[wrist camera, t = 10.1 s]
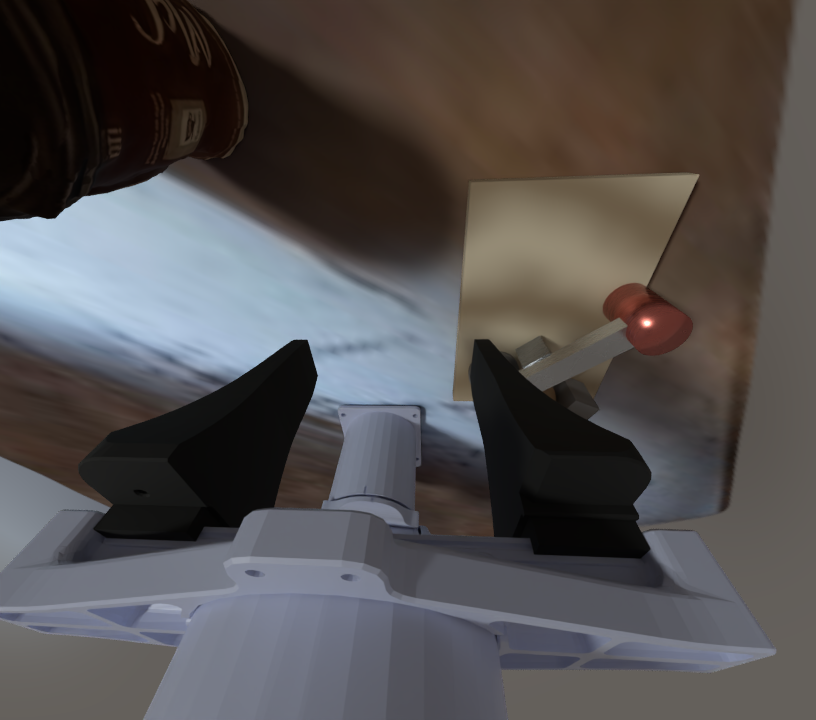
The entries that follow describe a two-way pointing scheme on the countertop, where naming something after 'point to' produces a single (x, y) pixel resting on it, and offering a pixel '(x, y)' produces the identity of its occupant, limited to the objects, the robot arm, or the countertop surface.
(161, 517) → the robot arm
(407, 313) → the countertop surface
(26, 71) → the coffee cup
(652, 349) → the lever
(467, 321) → the cracker base
